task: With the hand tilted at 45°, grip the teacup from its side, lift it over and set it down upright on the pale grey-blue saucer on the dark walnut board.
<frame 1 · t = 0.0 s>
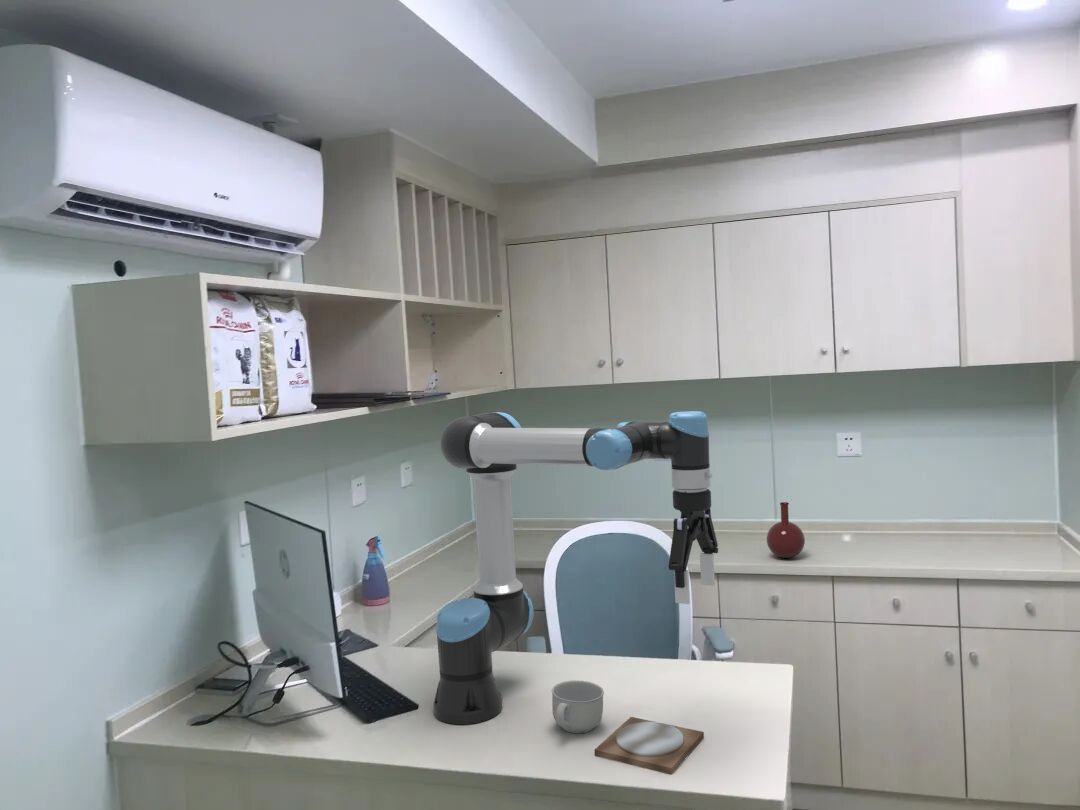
hand: (695, 593, 167), 28 cm above the worktop, tool pointing down, fingers open, 13 cm apart
walnut board: (650, 746, 162), on the worktop
teacup: (574, 730, 172), on the worktop
round-bottom flask: (786, 558, 298), on the worktop
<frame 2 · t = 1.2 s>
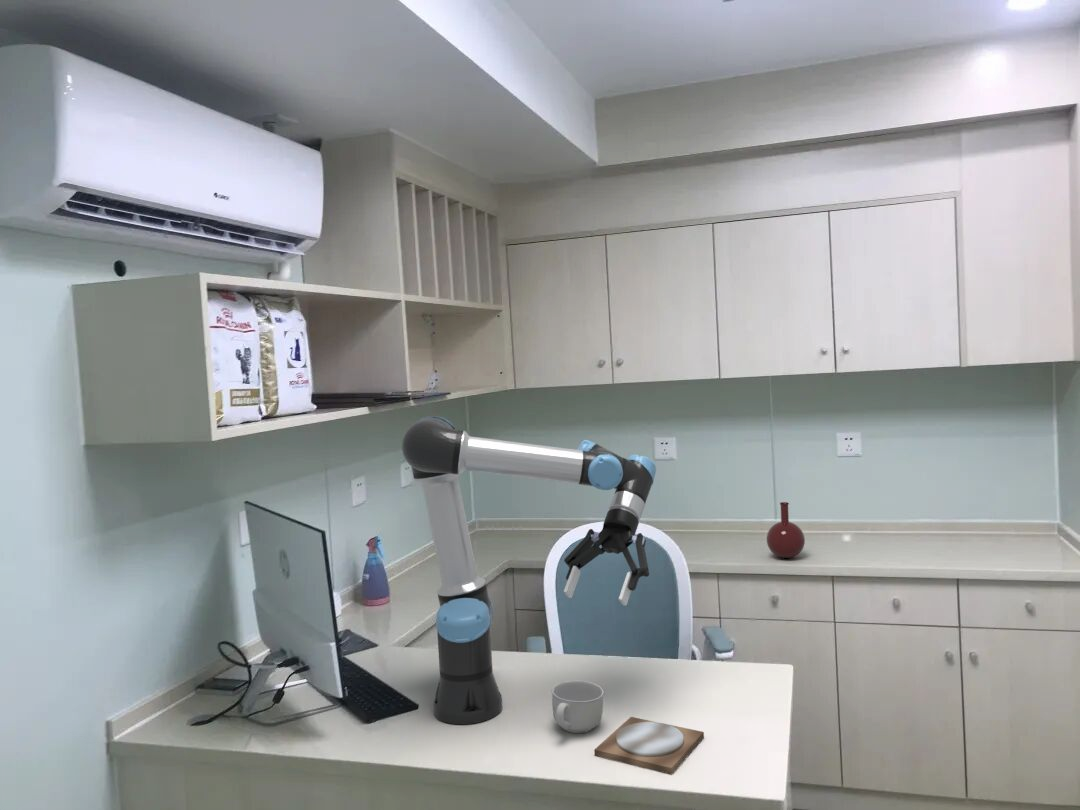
hand: (594, 598, 179), 25 cm above the worktop, tool tilted 45°, fingers open, 13 cm apart
nothing on the worktop moved.
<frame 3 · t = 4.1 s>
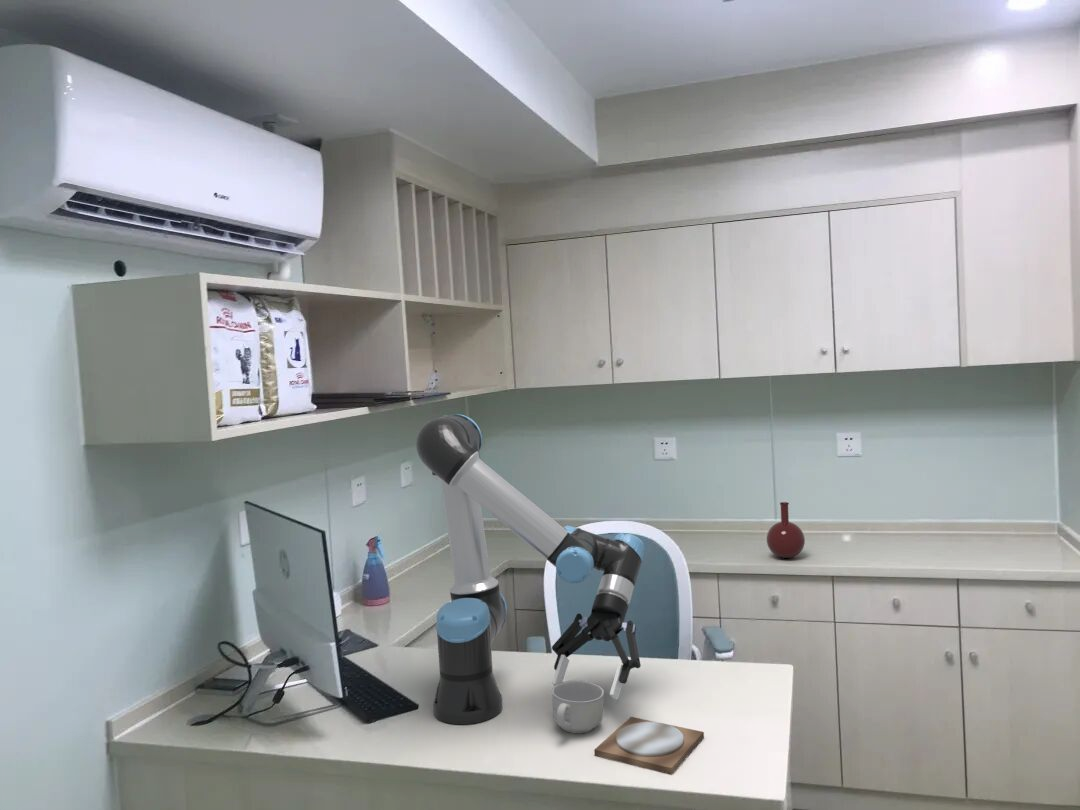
hand: (584, 691, 172), 7 cm above the worktop, tool tilted 45°, fingers open, 13 cm apart
nothing on the worktop moved.
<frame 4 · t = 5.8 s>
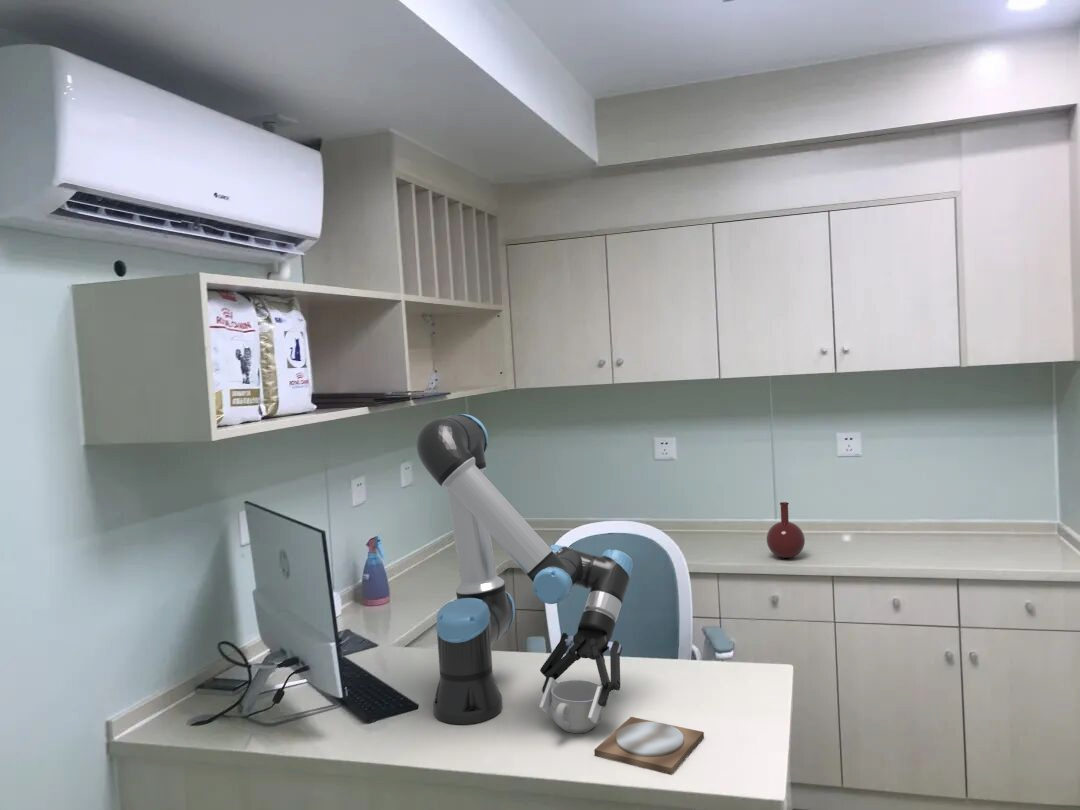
hand: (567, 715, 169), 4 cm above the worktop, tool tilted 45°, fingers closed on teacup, 11 cm apart
teacup: (574, 730, 171), on the worktop, touching gripper
everything else where it was.
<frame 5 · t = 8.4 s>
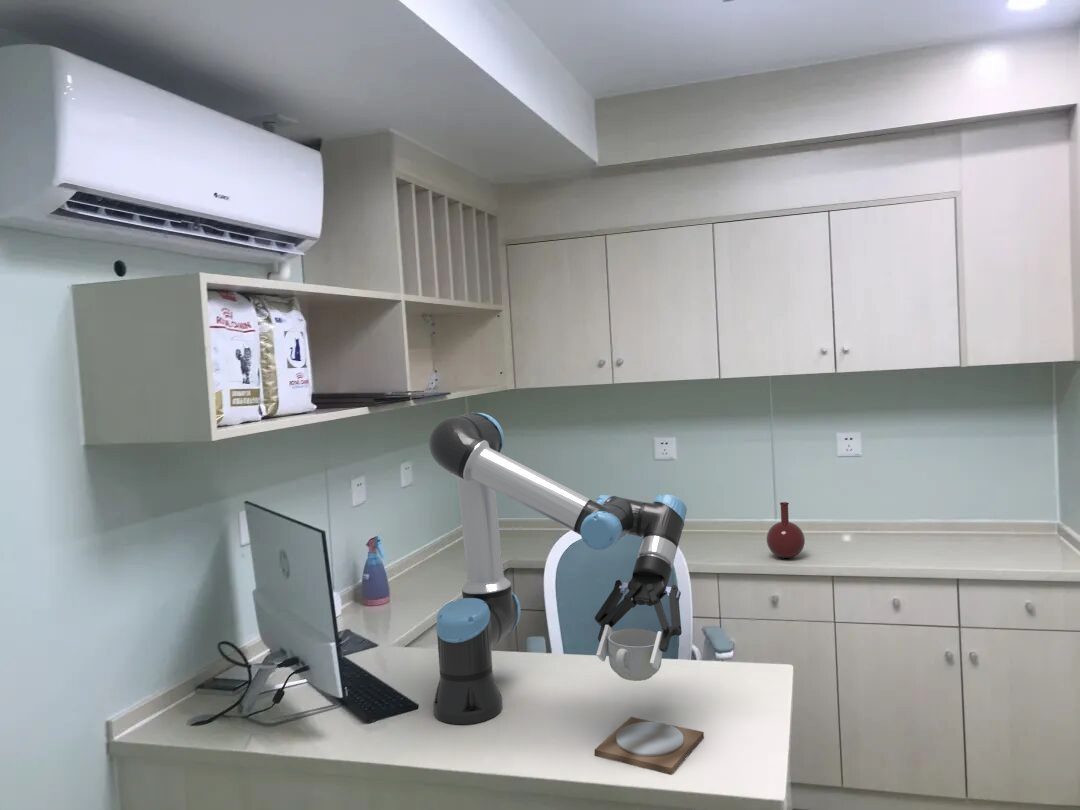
hand: (626, 662, 161), 17 cm above the worktop, tool tilted 45°, fingers closed on teacup, 11 cm apart
teacup: (633, 679, 164), point 13 cm above the worktop, touching gripper
everything else where it was.
when the fingers open (8 cm above the worktop, at t = 10.9 s): teacup drops 1 cm, resting on walnut board.
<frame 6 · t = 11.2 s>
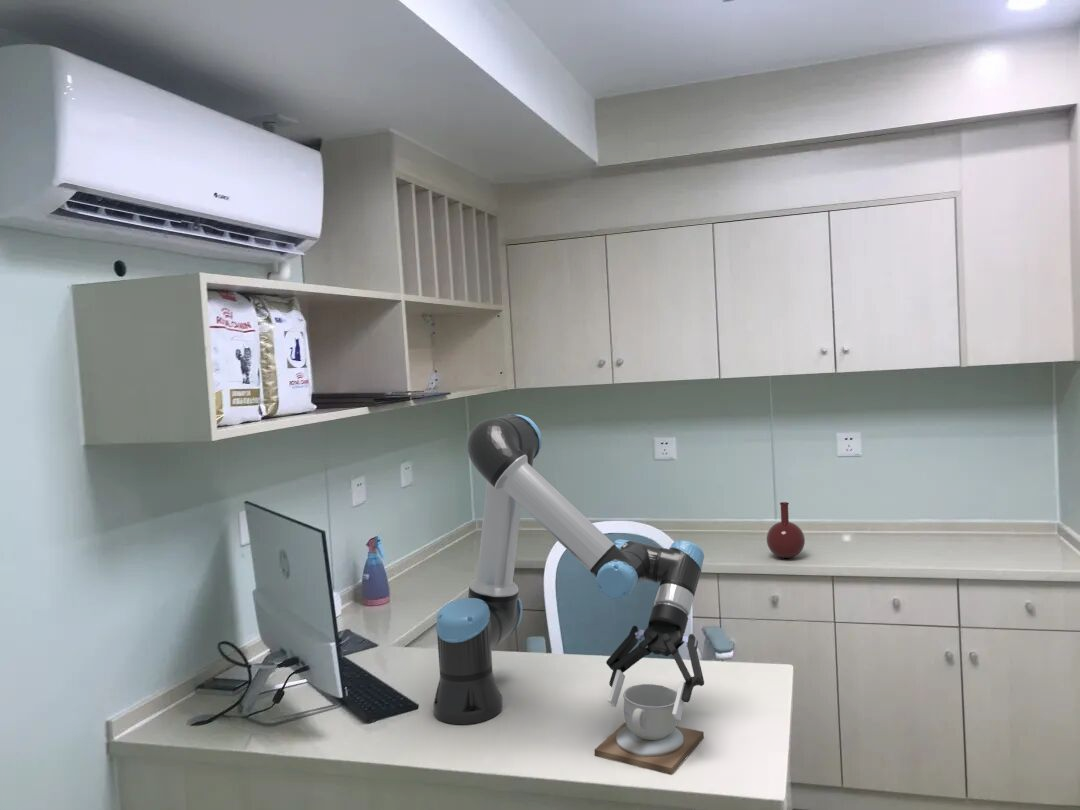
hand: (643, 710, 160), 8 cm above the worktop, tool tilted 45°, fingers open, 13 cm apart
teacup: (648, 737, 162), point 2 cm above the worktop, touching walnut board
everything else where it was.
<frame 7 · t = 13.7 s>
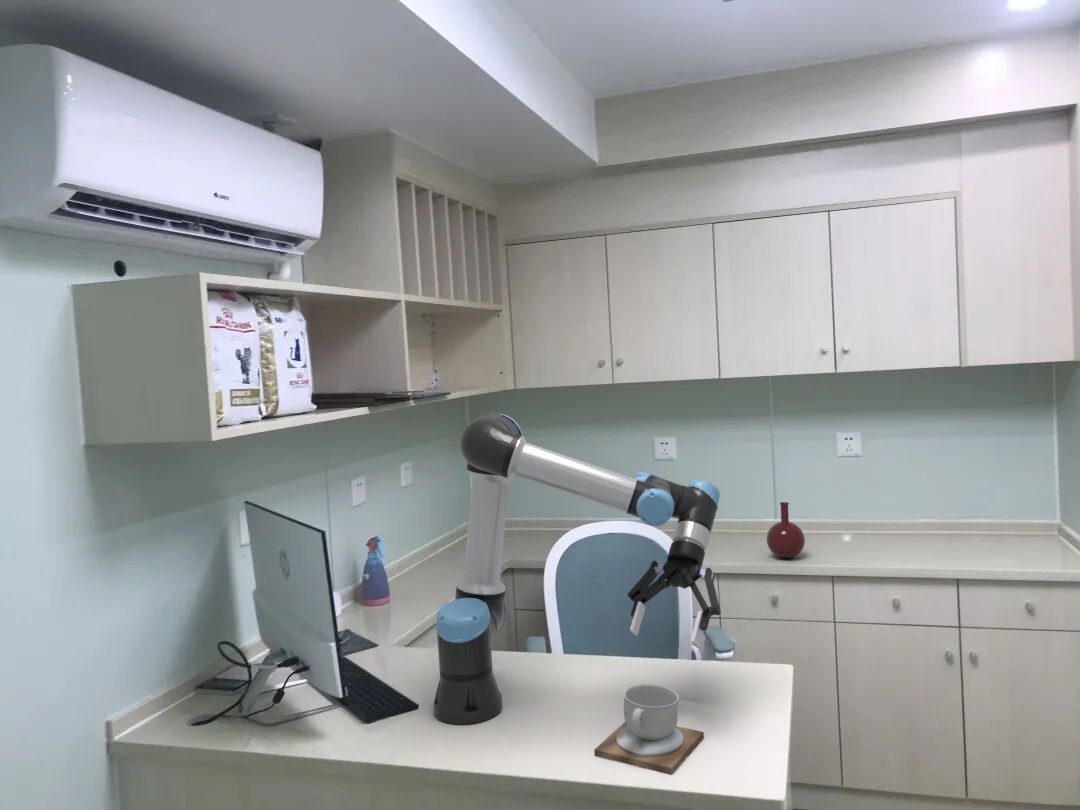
hand: (663, 638, 171), 18 cm above the worktop, tool tilted 40°, fingers open, 13 cm apart
nothing on the worktop moved.
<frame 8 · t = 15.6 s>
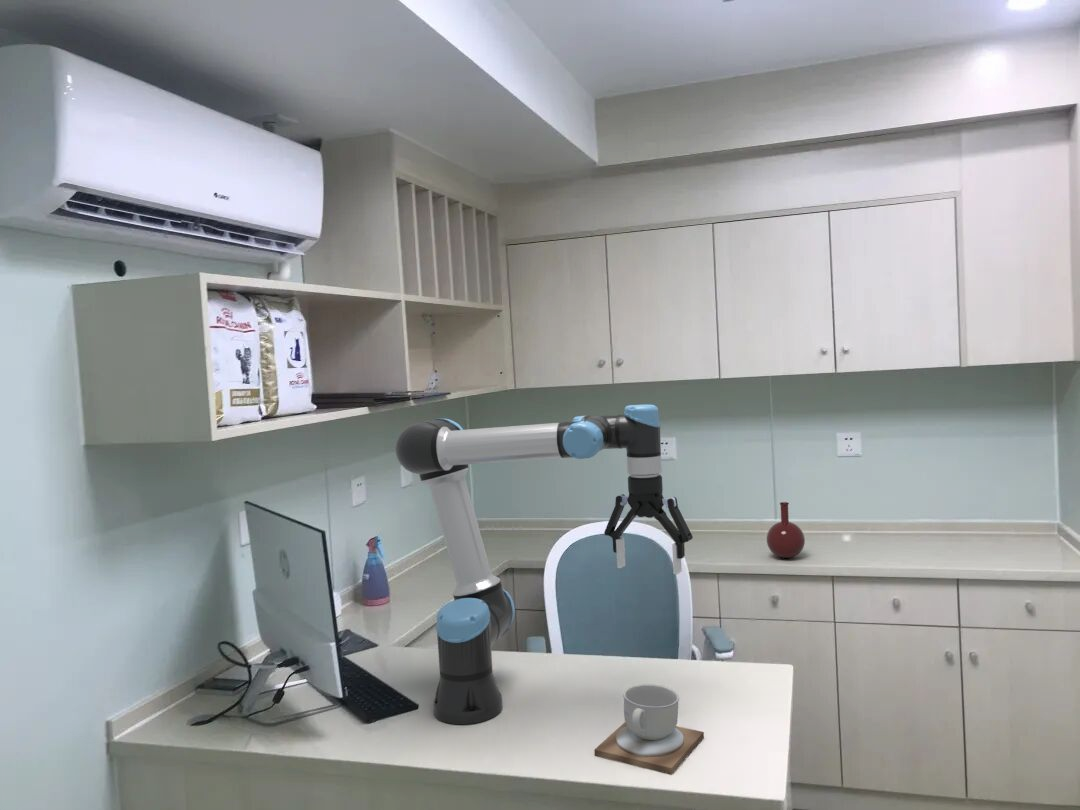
hand: (649, 570, 184), 29 cm above the worktop, tool pointing down, fingers open, 13 cm apart
nothing on the worktop moved.
at the end: teacup inside the target area on the walnut board (0.2 cm from its centre), point 1.8 cm above the walnut board's base; teacup tilted 0°; the gripper is holding nothing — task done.
